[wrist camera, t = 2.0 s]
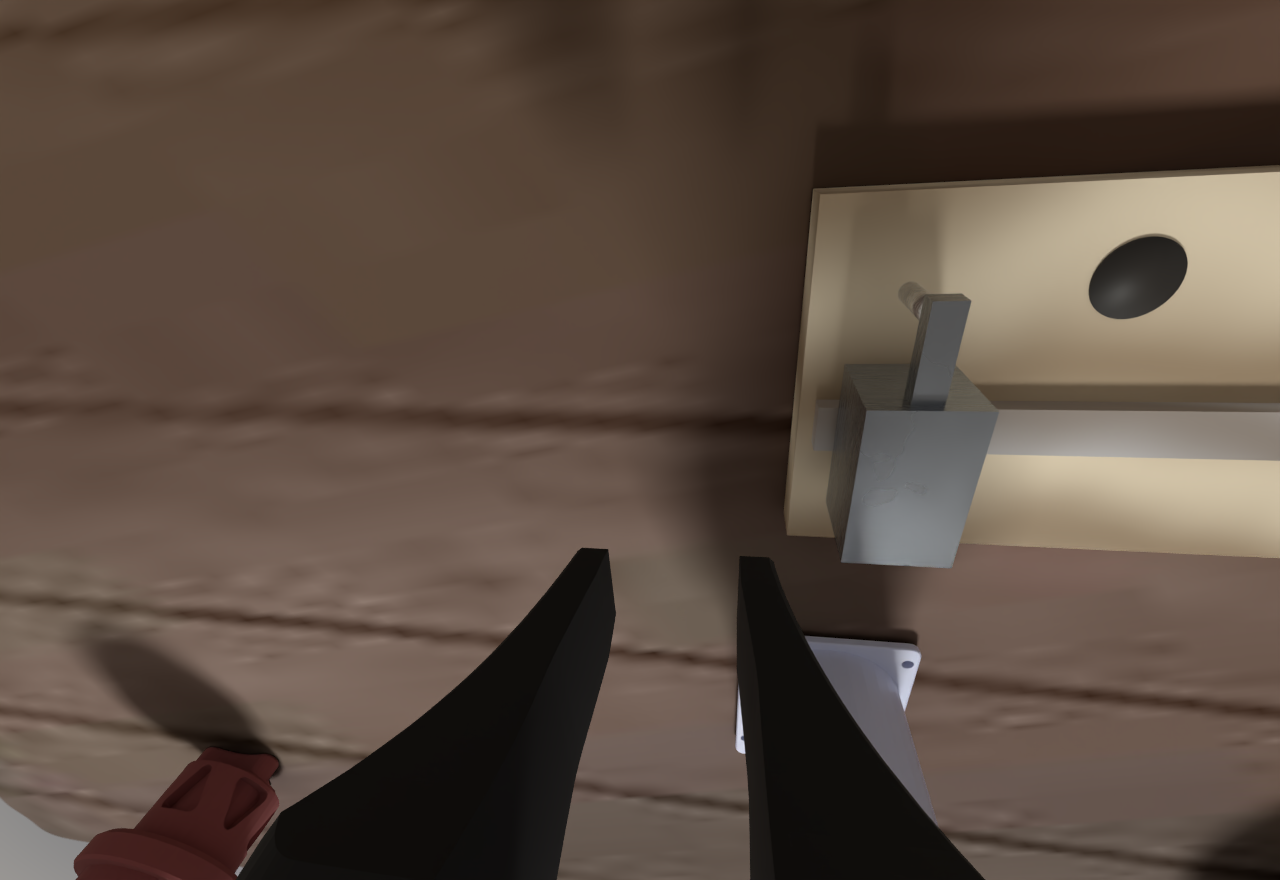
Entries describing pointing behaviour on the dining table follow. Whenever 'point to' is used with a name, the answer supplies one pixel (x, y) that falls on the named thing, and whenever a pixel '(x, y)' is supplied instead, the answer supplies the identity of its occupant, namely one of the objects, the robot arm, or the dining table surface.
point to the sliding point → (909, 445)
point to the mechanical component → (191, 824)
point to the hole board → (1070, 349)
